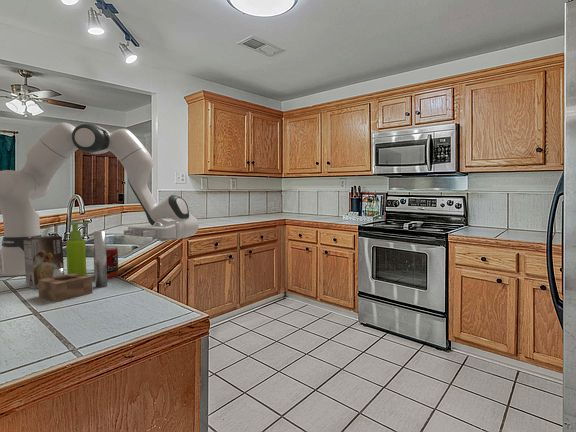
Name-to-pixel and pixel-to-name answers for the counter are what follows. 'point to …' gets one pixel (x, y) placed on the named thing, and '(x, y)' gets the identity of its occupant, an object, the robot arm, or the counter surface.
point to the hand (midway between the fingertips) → (133, 233)
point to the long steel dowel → (100, 259)
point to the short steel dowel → (57, 271)
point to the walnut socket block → (65, 287)
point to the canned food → (111, 261)
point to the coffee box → (42, 258)
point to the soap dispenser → (76, 251)
